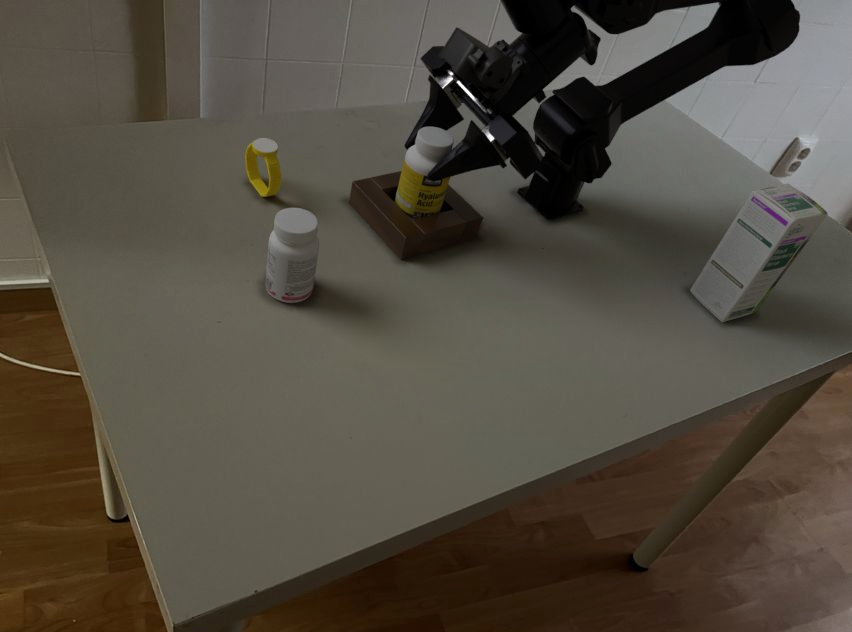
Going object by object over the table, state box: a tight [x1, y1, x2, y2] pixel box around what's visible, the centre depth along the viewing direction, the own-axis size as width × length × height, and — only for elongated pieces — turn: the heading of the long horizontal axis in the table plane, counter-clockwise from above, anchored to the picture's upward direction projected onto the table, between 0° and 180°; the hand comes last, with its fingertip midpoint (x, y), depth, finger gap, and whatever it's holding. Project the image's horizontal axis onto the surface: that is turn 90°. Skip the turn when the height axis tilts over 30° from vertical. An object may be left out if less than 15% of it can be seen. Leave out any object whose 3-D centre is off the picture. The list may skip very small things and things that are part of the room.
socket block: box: [348, 170, 484, 261], centre depth 82 cm, size 11×11×3 cm
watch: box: [244, 137, 282, 198], centre depth 80 cm, size 6×3×6 cm, turn 35°
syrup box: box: [689, 183, 828, 323], centre depth 78 cm, size 6×6×14 cm
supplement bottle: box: [394, 127, 455, 220], centre depth 79 cm, size 5×5×10 cm
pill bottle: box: [265, 207, 320, 304], centre depth 68 cm, size 5×5×8 cm
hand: (417, 163), depth 77 cm, fingers closed on supplement bottle, 5 cm apart
